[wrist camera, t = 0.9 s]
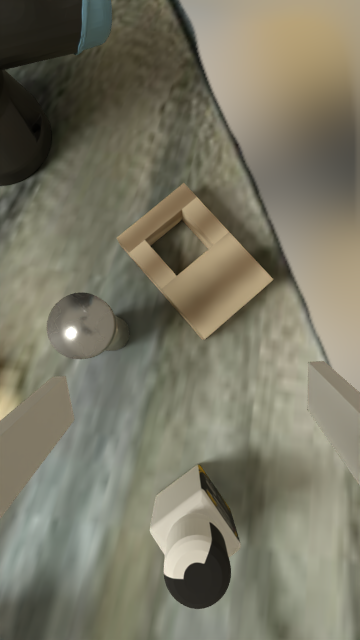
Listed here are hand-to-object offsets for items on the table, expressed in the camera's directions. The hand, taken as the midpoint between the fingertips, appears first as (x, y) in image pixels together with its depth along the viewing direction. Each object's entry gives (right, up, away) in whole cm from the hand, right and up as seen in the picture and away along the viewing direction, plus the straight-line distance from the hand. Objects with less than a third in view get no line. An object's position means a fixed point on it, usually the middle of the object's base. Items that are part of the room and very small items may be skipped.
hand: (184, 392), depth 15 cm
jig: (+2, +12, +25) cm, 27 cm away
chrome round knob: (-10, +2, +24) cm, 26 cm away
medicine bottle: (+1, -20, +21) cm, 29 cm away
